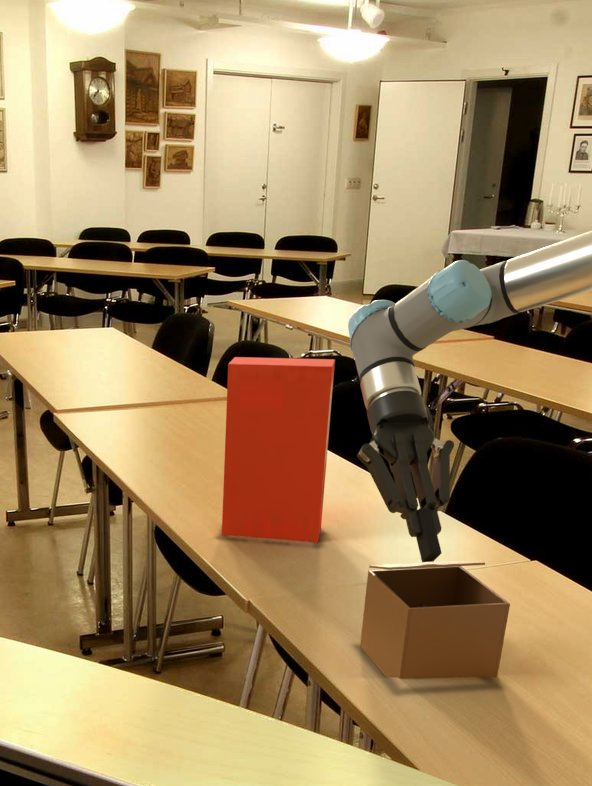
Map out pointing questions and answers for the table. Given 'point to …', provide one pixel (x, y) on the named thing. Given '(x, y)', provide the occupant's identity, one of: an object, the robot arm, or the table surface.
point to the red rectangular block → (276, 447)
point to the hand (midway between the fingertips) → (431, 557)
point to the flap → (426, 565)
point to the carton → (433, 623)
